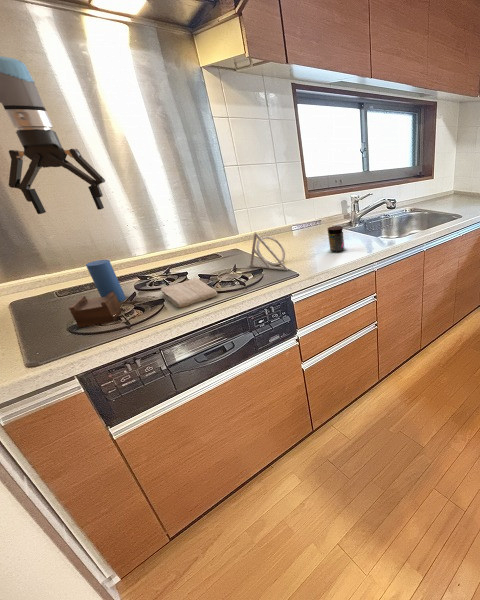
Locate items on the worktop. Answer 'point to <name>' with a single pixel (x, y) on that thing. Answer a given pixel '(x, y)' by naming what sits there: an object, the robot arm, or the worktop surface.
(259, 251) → the wire frame
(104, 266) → the tube
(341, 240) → the supplement container
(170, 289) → the washcloth
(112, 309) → the cradle
